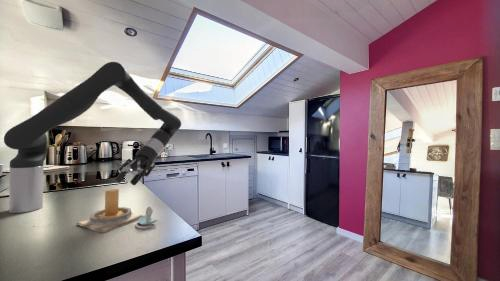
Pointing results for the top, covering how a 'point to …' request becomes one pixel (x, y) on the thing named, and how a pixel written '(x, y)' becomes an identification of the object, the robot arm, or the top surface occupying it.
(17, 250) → the top surface
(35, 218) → the top surface
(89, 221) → the carrier plate
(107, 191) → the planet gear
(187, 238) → the top surface
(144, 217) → the pacifier
